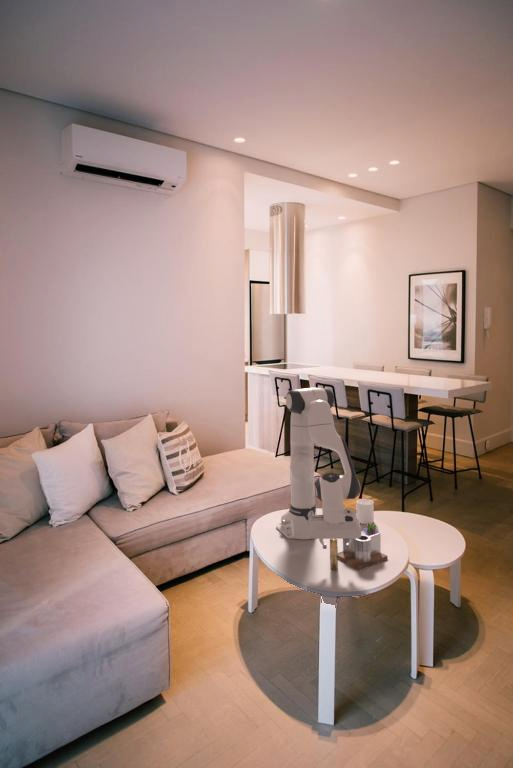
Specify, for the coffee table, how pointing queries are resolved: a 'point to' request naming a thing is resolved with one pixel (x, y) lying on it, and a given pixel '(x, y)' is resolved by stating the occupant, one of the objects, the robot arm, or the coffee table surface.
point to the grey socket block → (363, 547)
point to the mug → (365, 511)
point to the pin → (333, 554)
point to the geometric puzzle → (370, 529)
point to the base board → (358, 565)
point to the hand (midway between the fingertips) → (336, 548)
